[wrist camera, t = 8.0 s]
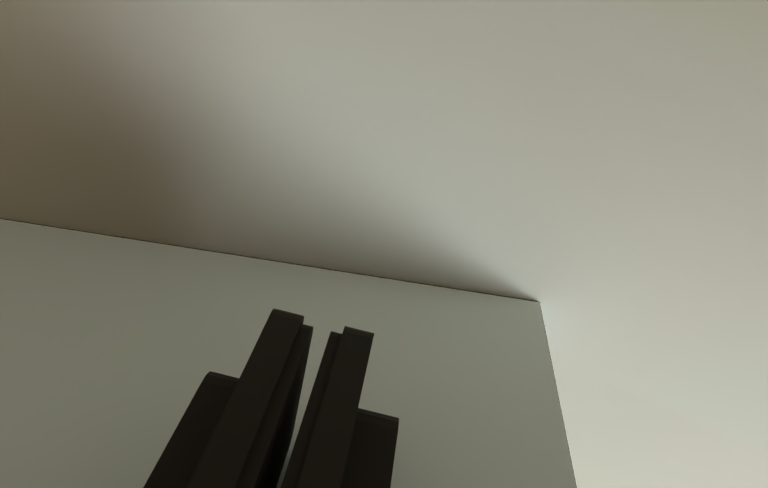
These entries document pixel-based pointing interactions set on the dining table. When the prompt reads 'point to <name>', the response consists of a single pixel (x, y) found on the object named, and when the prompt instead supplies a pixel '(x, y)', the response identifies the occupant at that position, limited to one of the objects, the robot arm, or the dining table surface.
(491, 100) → the dining table surface
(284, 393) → the robot arm
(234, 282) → the door
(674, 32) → the dining table surface
